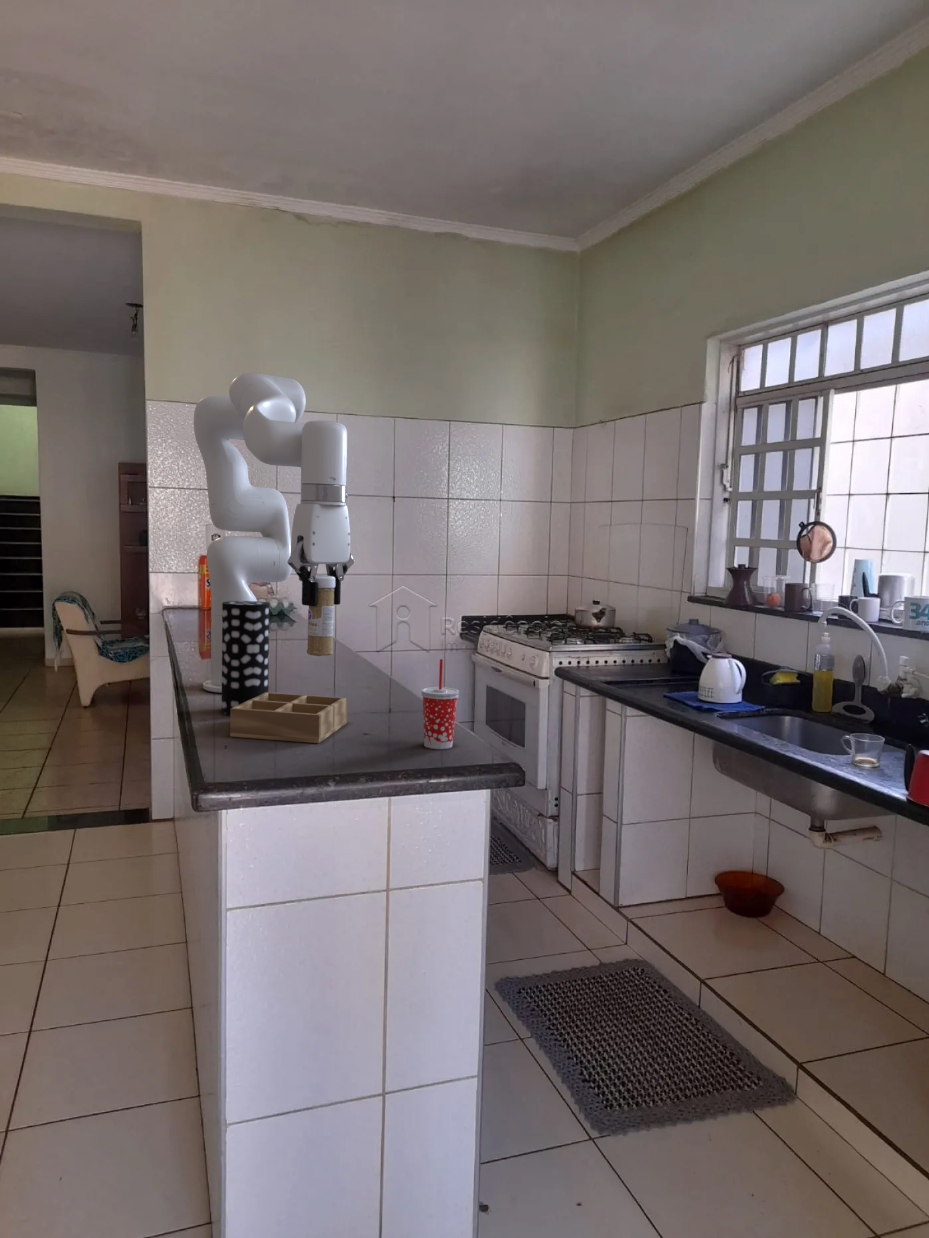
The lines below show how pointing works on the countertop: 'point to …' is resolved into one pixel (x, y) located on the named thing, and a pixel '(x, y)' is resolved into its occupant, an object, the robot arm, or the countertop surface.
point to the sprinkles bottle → (322, 619)
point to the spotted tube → (244, 652)
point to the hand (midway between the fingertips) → (321, 603)
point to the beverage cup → (439, 714)
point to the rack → (288, 717)
